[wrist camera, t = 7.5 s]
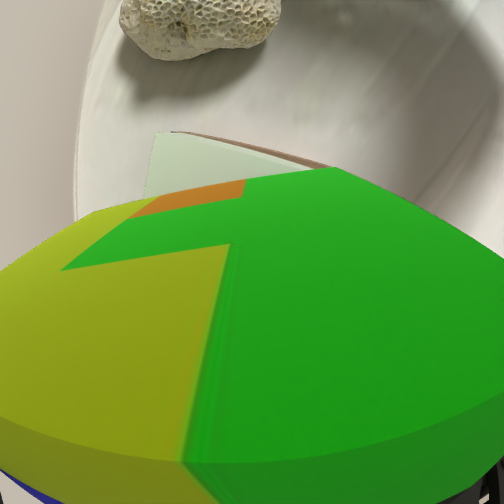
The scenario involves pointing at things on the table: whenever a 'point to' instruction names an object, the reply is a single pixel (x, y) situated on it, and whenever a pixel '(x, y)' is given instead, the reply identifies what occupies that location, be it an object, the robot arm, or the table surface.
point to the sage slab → (205, 164)
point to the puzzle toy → (254, 350)
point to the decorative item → (197, 25)
